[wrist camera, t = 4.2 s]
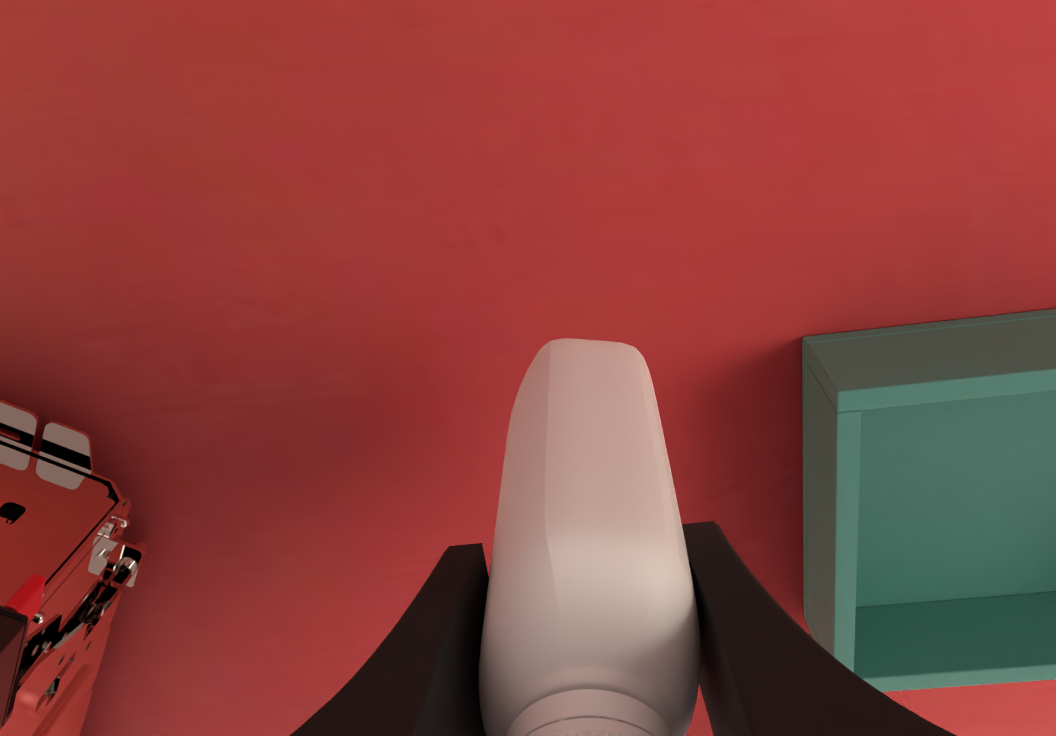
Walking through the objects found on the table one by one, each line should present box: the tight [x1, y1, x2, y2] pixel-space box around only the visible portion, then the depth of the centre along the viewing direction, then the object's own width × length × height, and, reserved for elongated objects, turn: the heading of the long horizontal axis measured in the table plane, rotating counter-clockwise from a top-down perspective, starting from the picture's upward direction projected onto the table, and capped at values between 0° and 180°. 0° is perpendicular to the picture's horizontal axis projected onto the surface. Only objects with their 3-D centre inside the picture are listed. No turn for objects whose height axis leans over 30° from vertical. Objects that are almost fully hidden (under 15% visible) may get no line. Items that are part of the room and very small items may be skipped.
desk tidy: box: [802, 309, 1056, 692], centre depth 24 cm, size 10×12×4 cm
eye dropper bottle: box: [479, 338, 701, 736], centre depth 14 cm, size 4×6×12 cm
